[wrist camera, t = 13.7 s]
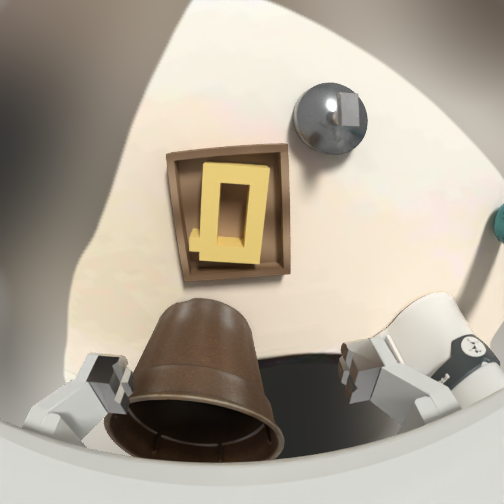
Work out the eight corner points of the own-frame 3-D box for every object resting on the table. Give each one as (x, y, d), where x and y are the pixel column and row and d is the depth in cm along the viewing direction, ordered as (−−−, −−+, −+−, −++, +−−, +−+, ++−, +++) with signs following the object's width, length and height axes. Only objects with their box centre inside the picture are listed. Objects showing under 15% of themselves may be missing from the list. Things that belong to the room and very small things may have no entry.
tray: (287, 264, 32) (290, 274, 30) (187, 271, 32) (184, 281, 30) (284, 143, 27) (287, 144, 25) (171, 152, 26) (165, 154, 24)
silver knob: (360, 153, 27) (388, 160, 22) (294, 153, 27) (309, 158, 21) (357, 88, 24) (386, 80, 19) (291, 84, 24) (305, 72, 19)
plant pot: (244, 388, 40) (249, 484, 25) (137, 361, 37) (107, 456, 22) (287, 303, 34) (317, 415, 19) (152, 265, 31) (99, 369, 16)
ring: (267, 165, 27) (270, 168, 25) (257, 253, 31) (259, 264, 28) (195, 160, 26) (191, 163, 24) (192, 249, 30) (189, 259, 28)
